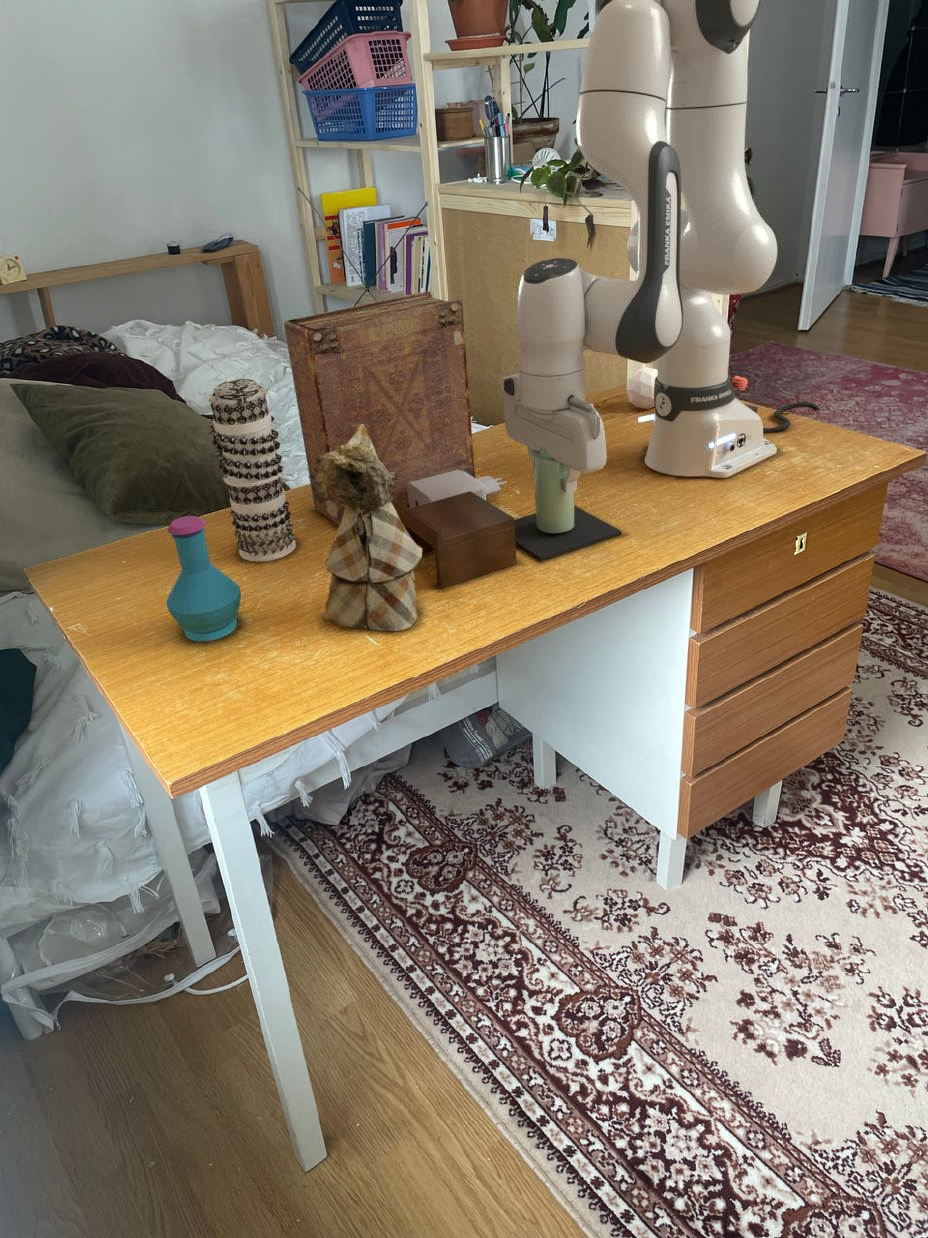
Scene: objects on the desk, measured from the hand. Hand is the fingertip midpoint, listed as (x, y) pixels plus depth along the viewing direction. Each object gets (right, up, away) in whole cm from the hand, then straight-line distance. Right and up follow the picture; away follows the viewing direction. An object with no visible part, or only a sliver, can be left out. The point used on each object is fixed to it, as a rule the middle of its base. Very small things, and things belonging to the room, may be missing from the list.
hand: (554, 483), depth 135 cm
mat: (+1, -7, +4) cm, 8 cm away
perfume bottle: (-46, -21, -13) cm, 52 cm away
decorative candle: (-42, -9, +6) cm, 44 cm away
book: (-24, 0, +20) cm, 31 cm away
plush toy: (-23, -19, -13) cm, 32 cm away
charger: (-13, -2, +15) cm, 20 cm away
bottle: (0, -6, +3) cm, 7 cm away
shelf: (-14, -11, -2) cm, 18 cm away
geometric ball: (+23, +22, +50) cm, 59 cm away
